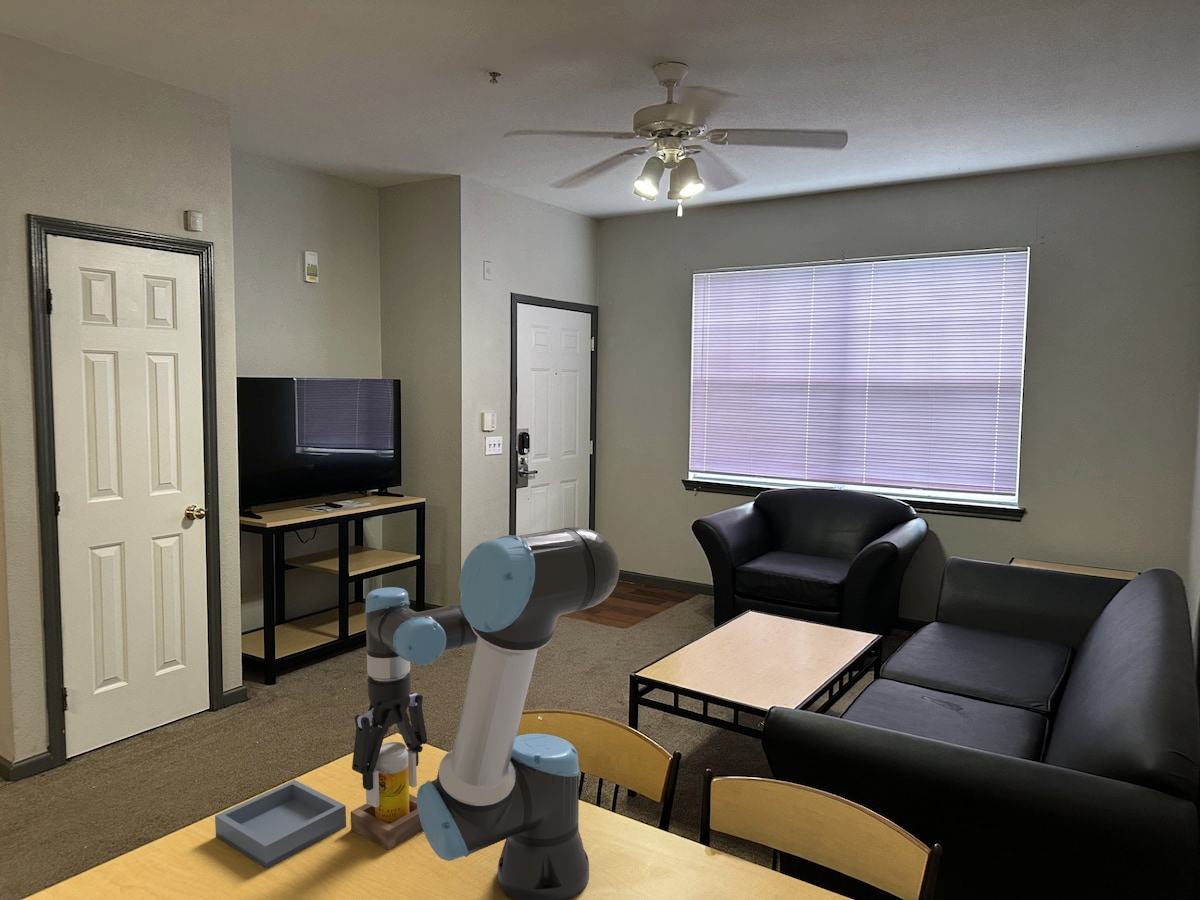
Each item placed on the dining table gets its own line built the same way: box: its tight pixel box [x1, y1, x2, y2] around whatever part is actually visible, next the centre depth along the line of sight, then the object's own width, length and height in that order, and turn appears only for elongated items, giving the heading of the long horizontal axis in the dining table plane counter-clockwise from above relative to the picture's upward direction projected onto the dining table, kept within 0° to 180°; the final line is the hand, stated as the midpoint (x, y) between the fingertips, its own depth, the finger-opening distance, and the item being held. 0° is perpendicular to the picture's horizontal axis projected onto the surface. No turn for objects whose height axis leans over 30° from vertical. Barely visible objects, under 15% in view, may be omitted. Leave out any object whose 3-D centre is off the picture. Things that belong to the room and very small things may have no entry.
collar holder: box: [350, 793, 423, 851], centre depth 150 cm, size 10×10×4 cm
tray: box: [214, 779, 347, 870], centre depth 148 cm, size 16×16×4 cm
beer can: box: [375, 741, 410, 824], centre depth 149 cm, size 6×6×15 cm
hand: (391, 794), depth 149 cm, fingers open, 8 cm apart
